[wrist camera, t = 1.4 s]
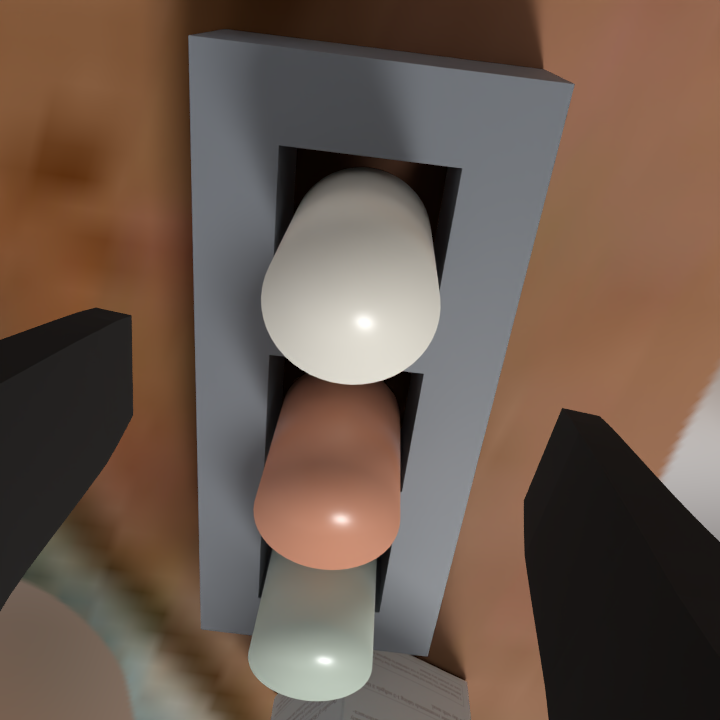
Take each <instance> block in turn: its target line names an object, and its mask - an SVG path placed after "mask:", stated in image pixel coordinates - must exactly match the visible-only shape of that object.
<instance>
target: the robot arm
mask: <svg viewBox="0 0 720 720" xmlns="http://www.w3.org/2000/svg"><path fill="white" fill-rule="evenodd" d="M132 416H133V380H132V320H131V315H127V314H123V313H118V312H113V311H109V310H104V309H99V308H93V309H89V310H85V311H81V312H78V313H75V314H72V315H69V316H66V317H63V318H60V319H57V320H54V321H52V322H49V323H46V324H43V325H40V326H38V327H35V328H32V329H29V330H27V331H24V332H21V333H18V334H16V335H13V336H10V337H7V338H4V339H2V340H0V611H1V609H2V607H3V606H4V604H5V602H6V601H7V599H8V598H9V596H10V594H11V593H12V591H13V590H14V589H15V587H16V586H17V584H18V583H19V581H20V580H21V578H22V577H23V575H24V574H25V573H26V571H27V570H28V568H29V567H30V566H31V564H32V563H33V562H34V560H35V559H36V558H37V556H38V555H39V554H40V552H41V551H42V550H43V548H44V547H45V546H46V544H47V543H48V542H49V540H50V539H51V538H52V536H53V535H54V534H55V532H56V531H57V530H58V528H59V527H60V526H61V525H62V523H63V522H64V521H65V519H66V518H67V517H68V515H69V514H70V513H71V511H72V510H73V509H74V507H75V506H76V505H77V503H78V502H79V501H80V499H81V498H82V497H83V495H84V494H85V493H86V491H87V490H88V488H89V487H90V486H91V484H92V483H93V482H94V480H95V479H96V478H97V476H98V475H99V474H100V472H101V471H102V469H103V468H104V467H105V465H106V464H107V462H108V460H109V459H110V457H111V455H112V453H113V452H114V450H115V448H116V446H117V445H118V443H119V441H120V439H121V437H122V435H123V433H124V431H125V430H126V428H127V426H128V424H129V422H130V420H131V418H132ZM524 547H525V561H526V568H527V575H528V581H529V588H530V595H531V601H532V607H533V614H534V620H535V626H536V633H537V639H538V645H539V651H540V658H541V664H542V670H543V677H544V683H545V691H546V699H547V708H548V717H549V720H720V542H719V541H718V540H717V539H716V538H715V537H714V536H713V535H712V534H711V533H710V532H709V531H708V530H707V529H706V528H705V527H704V526H703V525H702V524H701V523H700V522H699V521H698V520H697V519H696V518H695V517H694V516H693V515H692V514H691V513H690V512H689V511H688V510H687V509H686V508H685V507H684V506H683V505H682V503H681V502H680V501H679V500H678V499H677V498H676V497H675V496H674V495H673V494H672V493H671V492H670V491H669V490H668V489H667V488H666V486H665V485H664V484H663V483H662V482H661V481H660V480H659V479H658V478H657V477H656V476H655V475H654V473H653V472H652V471H651V470H650V469H649V468H648V467H647V466H646V465H645V464H644V462H643V461H642V460H641V459H640V458H639V457H638V456H637V455H636V454H635V453H634V451H633V450H632V449H631V448H630V447H629V446H628V445H627V444H626V443H625V442H624V440H623V439H622V438H621V437H620V436H619V435H618V434H617V433H616V432H615V431H614V430H613V429H612V428H611V427H610V426H609V425H608V424H607V423H606V422H605V421H604V420H603V419H602V418H601V417H600V416H596V415H592V414H587V413H582V412H578V411H573V410H568V409H564V408H562V410H561V412H560V415H559V417H558V420H557V422H556V424H555V427H554V429H553V432H552V434H551V437H550V439H549V441H548V444H547V446H546V449H545V451H544V453H543V456H542V458H541V461H540V463H539V465H538V468H537V470H536V473H535V475H534V478H533V480H532V482H531V485H530V487H529V490H528V492H527V494H526V497H525V499H524Z"/></svg>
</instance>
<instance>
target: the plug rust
mask: <svg viewBox="0 0 720 720" xmlns="http://www.w3.org/2000/svg"><path fill="white" fill-rule="evenodd" d="M253 510H254V519H255V524H256V526H257V529H258V531H259V533H260V534H261V536H262V537H263V539H264V540H265V541H266V543H267V544H268V545H269V546H270V547H271V548H272V549H274V550H275V551H276V552H277V553H279V554H280V555H282V556H283V557H285V558H287V559H289V560H291V561H293V562H295V563H298V564H300V565H303V566H307V567H311V568H316V569H323V570H342V569H349V568H354V567H358V566H361V565H364V564H366V563H368V562H371V561H373V560H374V559H376V558H378V557H379V556H380V555H382V554H383V553H384V552H385V551H386V550H387V549H388V548H389V547H390V546H391V544H392V543H393V542H394V540H395V538H396V536H397V534H398V530H399V527H400V410H399V405H398V402H397V400H396V398H395V396H394V394H393V392H392V391H391V390H390V388H389V387H388V386H387V385H386V384H385V383H384V382H383V381H378V382H374V383H368V384H357V385H350V384H339V383H333V382H329V381H326V380H322V379H319V378H317V377H315V376H312V375H310V374H308V373H306V374H304V375H303V376H301V377H300V378H299V379H297V380H296V381H295V382H294V383H293V384H292V386H291V387H290V388H289V390H288V392H287V394H286V396H285V398H284V401H283V405H282V408H281V412H280V415H279V419H278V422H277V425H276V429H275V432H274V436H273V439H272V443H271V446H270V450H269V453H268V456H267V460H266V463H265V467H264V470H263V474H262V477H261V481H260V484H259V487H258V491H257V494H256V498H255V501H254V509H253Z"/></svg>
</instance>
